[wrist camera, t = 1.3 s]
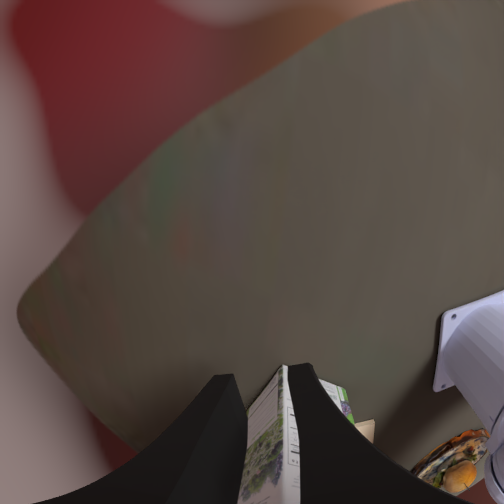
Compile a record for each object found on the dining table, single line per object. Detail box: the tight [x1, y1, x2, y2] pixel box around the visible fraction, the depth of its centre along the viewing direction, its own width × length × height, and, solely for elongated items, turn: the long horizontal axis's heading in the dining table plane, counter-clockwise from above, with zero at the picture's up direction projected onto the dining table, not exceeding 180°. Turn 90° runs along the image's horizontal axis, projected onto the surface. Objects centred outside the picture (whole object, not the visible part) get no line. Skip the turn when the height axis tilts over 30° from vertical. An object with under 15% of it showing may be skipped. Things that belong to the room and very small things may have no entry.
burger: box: [412, 428, 490, 492], centre depth 19 cm, size 12×12×8 cm
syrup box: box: [237, 365, 355, 504], centre depth 14 cm, size 6×6×14 cm
